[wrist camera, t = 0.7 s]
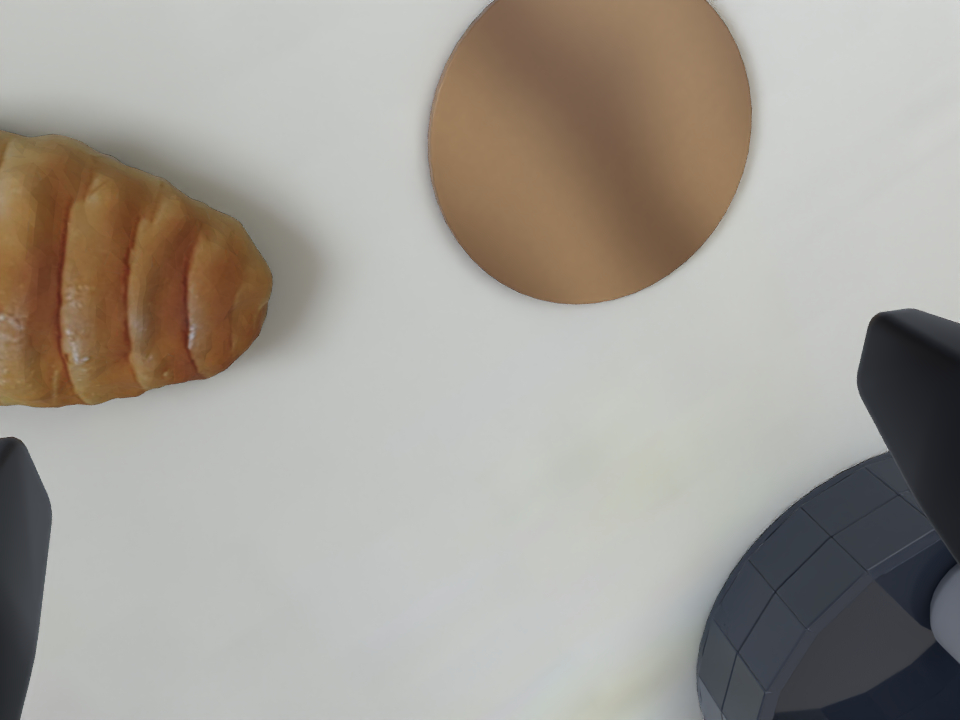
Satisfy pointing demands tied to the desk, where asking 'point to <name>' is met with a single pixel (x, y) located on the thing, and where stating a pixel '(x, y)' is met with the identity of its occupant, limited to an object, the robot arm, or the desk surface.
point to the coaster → (588, 141)
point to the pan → (834, 612)
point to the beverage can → (947, 612)
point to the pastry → (114, 278)
